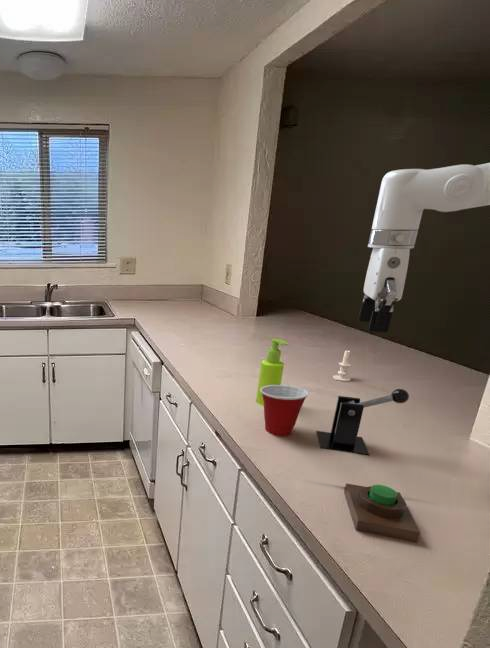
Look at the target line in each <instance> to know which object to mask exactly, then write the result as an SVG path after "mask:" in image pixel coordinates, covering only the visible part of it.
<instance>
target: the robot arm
mask: <svg viewBox="0 0 490 648" xmlns="http://www.w3.org/2000/svg"><path fill="white" fill-rule="evenodd" d="M486 206H490V162H487V163H481V164H476V165H474V164H455V165H450V166H444V167H438V168H430V169H425V168H404V169H403V168H402V169H396V170H391V171H388V172H387V173H386V174H385V175H383V177H382V180H381V183H380V187H379V192H378V196H377V202H376V206H375V211H374V216H373V221H372V226H371V230H370V235H369V238H368V244H367V248H372V251H371V254H370V258H369V262H368V266H367V270H366V275H365V280H364V284H363V294H364V295H363V298H362V302H361V305H360V310H359V315H358V321H359V322H367V323H369V326H368V331H369V332H374V333H375V332H376V333H387V332H388V331H389V328H390V323H391V319H392V316H393V312H394V305H395V303H396V302H398V301H400V300H402V297H403V293H404V289H405V285H406V284H405V283H406V279H407V273H408V267H409V261H410V251H411V249H414V248H415V245H416V241H417V236H418V233H419V228H420V224H421V220H422V216H423V213H424V210H435V211H436V212H440V213H450V212H457V211H461V210H467V209H472V208H479V207H486Z"/></svg>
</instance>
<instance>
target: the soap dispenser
mask: <svg viewBox="0 0 490 648" xmlns="http://www.w3.org/2000/svg"><path fill="white" fill-rule="evenodd" d="M269 341H270V342H272V343H271V348H269V349H267V354H266V359H263V360H261V361H260V362H261V363H260V368H259V369H260V370H259V377H258V384H257V385H258V386H257V392H256V398H255V403H257V404H258V405H261V406H263V407H264V401H263V397H262V393H261V392H260V389H261V388H262V387H264V386H269V385H282V378H283V372H284V366H285V363H284V362H282V361H281V354H282V351H281V349H279V345H280V346H288V345H289V343H288V342H287V341H286V340H284V339H282V338H277V337H272V338H269Z"/></svg>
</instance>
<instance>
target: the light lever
mask: <svg viewBox="0 0 490 648" xmlns="http://www.w3.org/2000/svg"><path fill="white" fill-rule="evenodd" d="M409 399H410V394H409V392H408V391H407V390H405V389H403V388H397V389H394V390H393V391H392V392H391V394H390V395H386V396H381V397H377V398H373V399H370V400H364V401H360V403H356V404H361V405H364V408H368V407H372V406H377V405H383V404H385V403H386V404H387V403H390V402H394V403H396V404H404V403H405V404H406V402H407V401H408V400H409ZM344 403H353V404H355V402H354V400H352V401H348V402H344ZM340 404H341V403H340Z"/></svg>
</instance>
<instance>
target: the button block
mask: <svg viewBox="0 0 490 648" xmlns="http://www.w3.org/2000/svg"><path fill="white" fill-rule="evenodd" d="M371 486H372V485H371ZM371 486H364V485H357V484H352V483H347V482H346V483H345V487H344V491H343V493H344V494H343V495H344V497H345V498H344V499H345V500H346V504H347V507H348V510H349V514H350V517H351V520H352V524H353V526H354V530H355V532H360V533H361V532H362V533H366V534H371V535H376V536H380V537H386V538H390V539H396V540H401V541H406V542H410V543H415V544H418V541H419V538H420V536H421V531H420V529H419V526H418V525H417V523H416V521H415V519H414V517H413V515H412V514H411V511H410V509H409V508H408V507H409V506H407V503H406V500H405V499H404V498H403V496H402V494H401V492H398V491H396V492H397V494H398V496H397V499H396V503H395V504H394V505H384V504H380V503H378V502H376V501H373V500H372V499H371V498H370V497H369V493H370V489H371Z"/></svg>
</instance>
